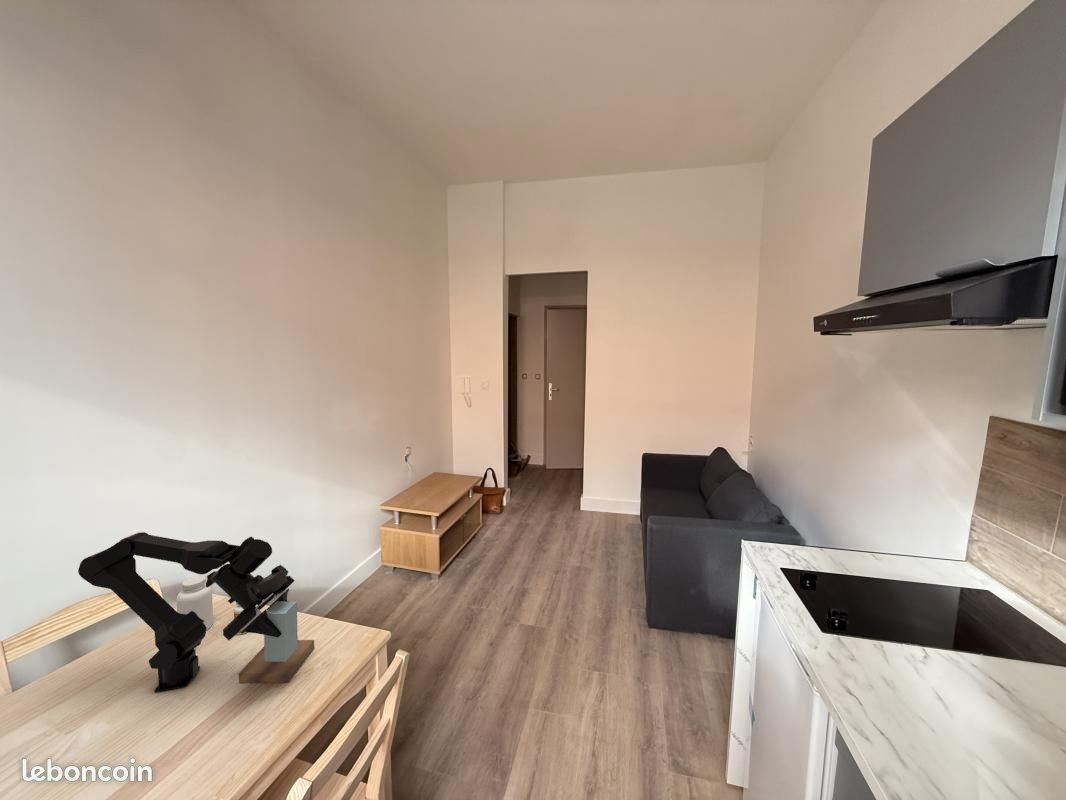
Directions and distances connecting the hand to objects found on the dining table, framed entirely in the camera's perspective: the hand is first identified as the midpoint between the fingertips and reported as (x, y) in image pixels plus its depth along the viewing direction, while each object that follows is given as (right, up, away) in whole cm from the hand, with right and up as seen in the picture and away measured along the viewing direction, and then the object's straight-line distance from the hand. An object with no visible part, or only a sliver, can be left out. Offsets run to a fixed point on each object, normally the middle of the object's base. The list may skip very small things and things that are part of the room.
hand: (286, 628), depth 96 cm
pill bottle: (-39, -12, +19) cm, 45 cm away
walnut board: (-6, -13, +6) cm, 15 cm away
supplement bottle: (-25, -12, +20) cm, 34 cm away
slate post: (-2, -7, 0) cm, 7 cm away
